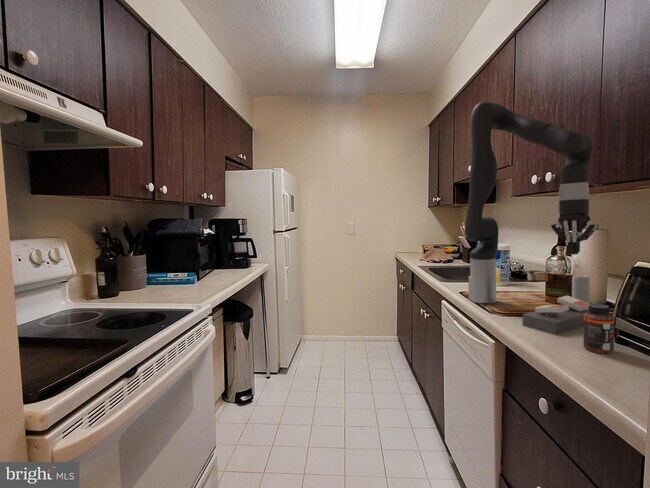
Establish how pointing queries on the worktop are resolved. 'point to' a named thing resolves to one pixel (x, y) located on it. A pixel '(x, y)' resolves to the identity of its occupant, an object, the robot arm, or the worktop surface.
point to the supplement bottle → (599, 329)
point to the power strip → (555, 320)
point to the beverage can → (581, 288)
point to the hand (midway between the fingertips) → (573, 254)
